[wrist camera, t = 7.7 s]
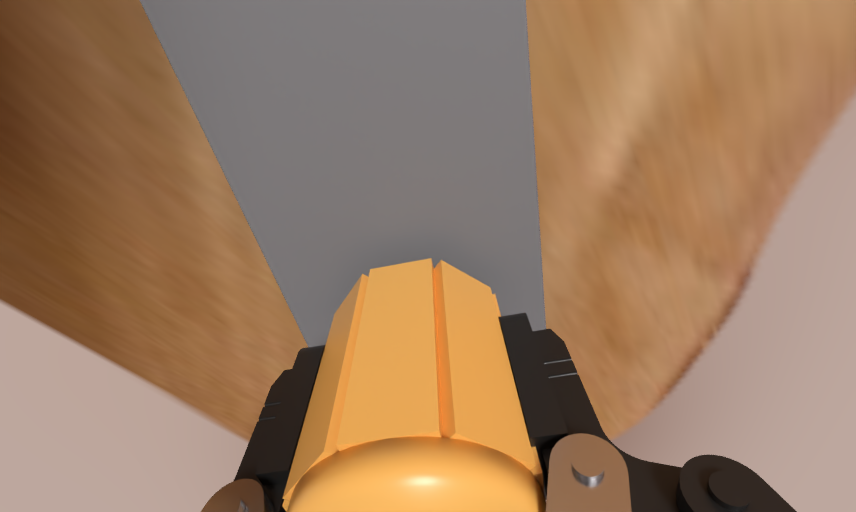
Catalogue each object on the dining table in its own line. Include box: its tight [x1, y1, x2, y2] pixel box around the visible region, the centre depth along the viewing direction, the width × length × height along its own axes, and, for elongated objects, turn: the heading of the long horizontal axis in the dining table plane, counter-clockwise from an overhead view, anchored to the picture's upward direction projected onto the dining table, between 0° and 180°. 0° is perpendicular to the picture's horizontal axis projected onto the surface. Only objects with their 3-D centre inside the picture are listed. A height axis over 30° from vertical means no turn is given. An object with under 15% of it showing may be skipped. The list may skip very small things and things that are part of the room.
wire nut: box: [282, 258, 546, 512], centre depth 10 cm, size 5×5×6 cm
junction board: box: [140, 0, 546, 347], centre depth 10 cm, size 14×8×5 cm, turn 11°
